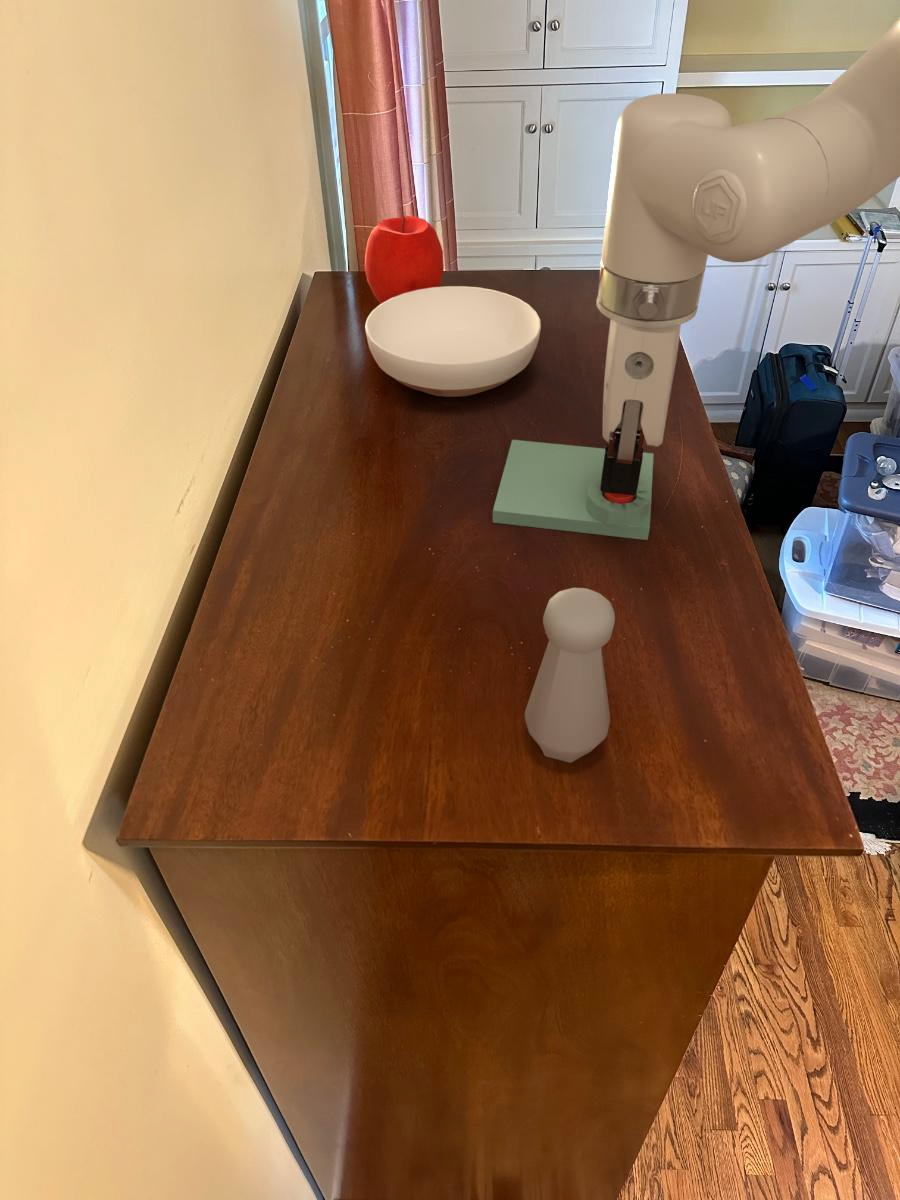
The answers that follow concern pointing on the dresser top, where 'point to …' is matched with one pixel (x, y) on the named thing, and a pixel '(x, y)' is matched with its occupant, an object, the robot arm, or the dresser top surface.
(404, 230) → the apple
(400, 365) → the bowl
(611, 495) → the button
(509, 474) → the green flat block
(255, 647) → the dresser top surface
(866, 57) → the robot arm
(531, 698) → the salt shaker
